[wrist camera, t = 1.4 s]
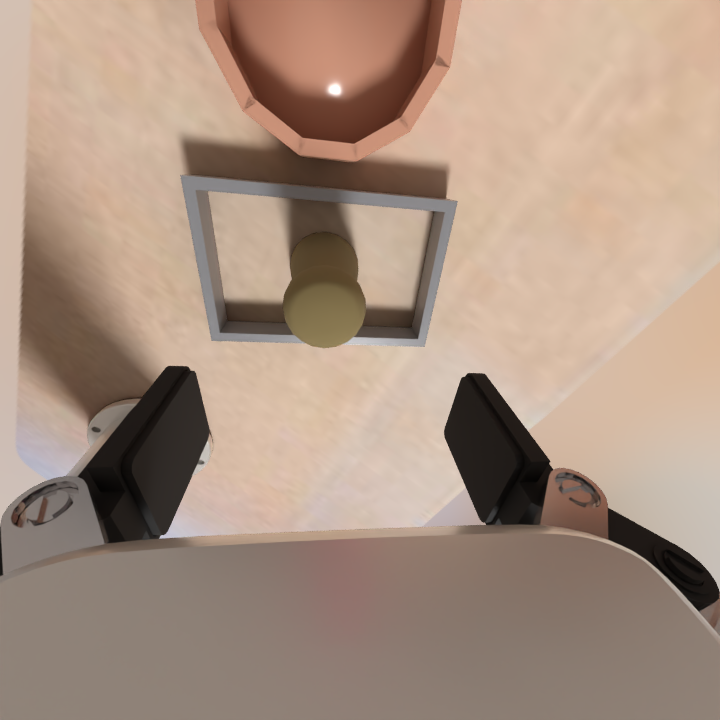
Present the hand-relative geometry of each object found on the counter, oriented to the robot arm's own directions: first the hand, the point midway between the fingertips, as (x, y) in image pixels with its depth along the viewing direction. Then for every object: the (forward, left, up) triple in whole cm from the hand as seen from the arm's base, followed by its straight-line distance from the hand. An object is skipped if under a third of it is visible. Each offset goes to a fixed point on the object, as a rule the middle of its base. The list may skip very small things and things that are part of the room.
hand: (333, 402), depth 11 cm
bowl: (+15, 0, -19) cm, 24 cm away
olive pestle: (0, 0, -19) cm, 19 cm away
